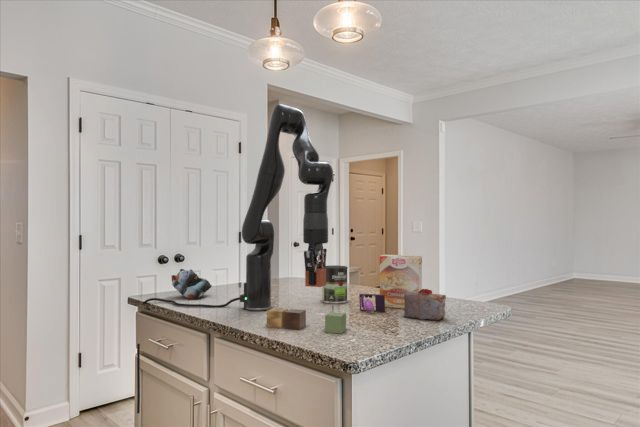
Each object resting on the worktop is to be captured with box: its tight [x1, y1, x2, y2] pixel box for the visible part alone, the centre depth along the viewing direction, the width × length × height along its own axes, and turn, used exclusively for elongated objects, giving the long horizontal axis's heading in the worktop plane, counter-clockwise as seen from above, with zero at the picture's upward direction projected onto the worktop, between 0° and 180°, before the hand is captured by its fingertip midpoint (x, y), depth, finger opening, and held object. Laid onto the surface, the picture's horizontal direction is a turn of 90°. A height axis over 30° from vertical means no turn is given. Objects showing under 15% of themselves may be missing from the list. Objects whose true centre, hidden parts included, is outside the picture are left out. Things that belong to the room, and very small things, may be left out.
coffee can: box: [321, 265, 349, 305], centre depth 181 cm, size 10×10×14 cm
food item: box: [404, 288, 447, 321], centre depth 151 cm, size 14×8×10 cm, turn 62°
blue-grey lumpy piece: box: [170, 268, 213, 300], centre depth 190 cm, size 15×12×14 cm
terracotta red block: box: [304, 268, 326, 288], centre depth 135 cm, size 5×5×5 cm
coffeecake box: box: [379, 254, 423, 310], centre depth 170 cm, size 15×7×20 cm, turn 68°
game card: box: [358, 293, 386, 314], centre depth 159 cm, size 7×5×9 cm
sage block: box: [324, 311, 347, 334], centre depth 133 cm, size 5×5×5 cm
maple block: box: [266, 307, 289, 329], centre depth 139 cm, size 5×5×5 cm
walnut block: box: [284, 308, 307, 331], centre depth 137 cm, size 5×5×5 cm
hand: (315, 283), depth 135 cm, fingers closed on terracotta red block, 5 cm apart
